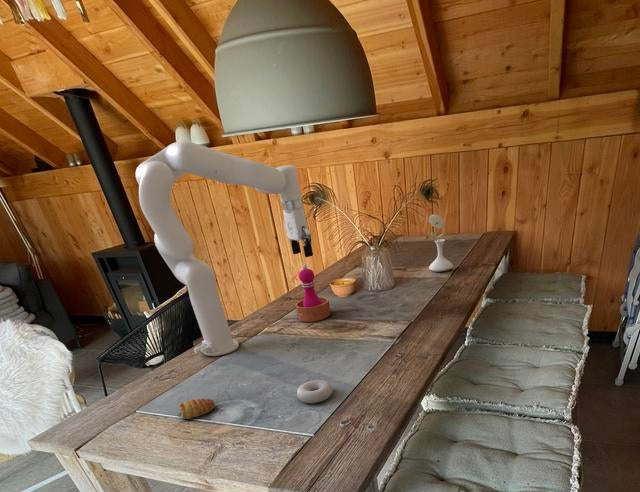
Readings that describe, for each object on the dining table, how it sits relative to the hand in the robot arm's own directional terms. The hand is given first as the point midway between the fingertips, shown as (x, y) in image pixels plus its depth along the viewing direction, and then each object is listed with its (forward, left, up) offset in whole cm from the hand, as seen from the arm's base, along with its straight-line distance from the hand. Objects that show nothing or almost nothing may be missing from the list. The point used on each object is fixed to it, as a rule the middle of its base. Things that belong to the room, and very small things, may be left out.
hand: (303, 254), depth 175 cm
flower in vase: (+73, -13, -24) cm, 78 cm away
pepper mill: (0, 0, -24) cm, 24 cm away
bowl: (0, 0, -24) cm, 24 cm away
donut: (-48, -50, -24) cm, 74 cm away
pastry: (-71, -25, -24) cm, 79 cm away
